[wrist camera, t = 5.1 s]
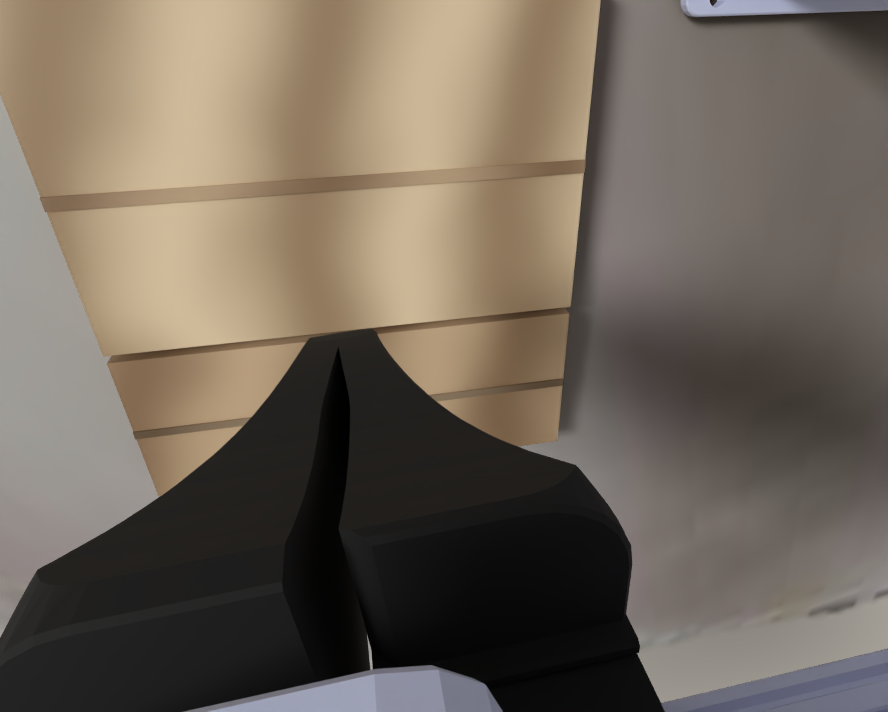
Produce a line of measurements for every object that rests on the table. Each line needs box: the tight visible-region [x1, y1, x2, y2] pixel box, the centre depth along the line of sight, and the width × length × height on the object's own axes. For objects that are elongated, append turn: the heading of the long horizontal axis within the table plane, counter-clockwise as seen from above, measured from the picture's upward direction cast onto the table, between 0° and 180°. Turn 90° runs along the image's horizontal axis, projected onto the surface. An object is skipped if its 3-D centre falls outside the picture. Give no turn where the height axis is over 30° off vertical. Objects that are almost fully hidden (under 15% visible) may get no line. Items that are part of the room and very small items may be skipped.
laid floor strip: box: [107, 308, 569, 496], centre depth 22 cm, size 16×6×1 cm, turn 91°
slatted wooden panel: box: [0, 0, 601, 356], centre depth 18 cm, size 16×10×1 cm, turn 91°
